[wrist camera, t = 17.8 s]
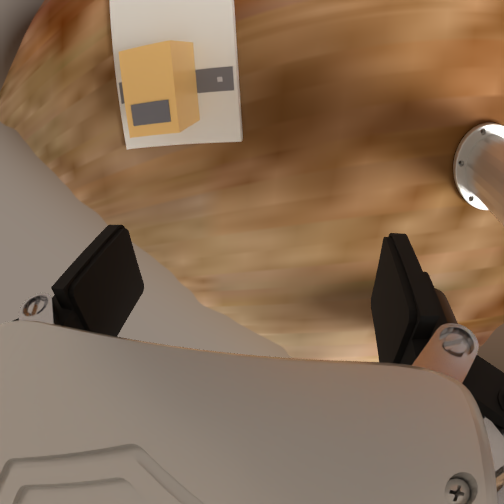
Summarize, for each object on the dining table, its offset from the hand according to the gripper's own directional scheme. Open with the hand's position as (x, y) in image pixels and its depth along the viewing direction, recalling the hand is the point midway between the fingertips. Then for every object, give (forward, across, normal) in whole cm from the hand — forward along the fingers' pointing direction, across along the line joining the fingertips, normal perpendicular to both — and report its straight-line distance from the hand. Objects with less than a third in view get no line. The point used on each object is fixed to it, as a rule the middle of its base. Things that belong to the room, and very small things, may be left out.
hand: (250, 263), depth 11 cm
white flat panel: (+30, +14, -11) cm, 35 cm away
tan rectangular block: (+29, +14, -5) cm, 33 cm away
